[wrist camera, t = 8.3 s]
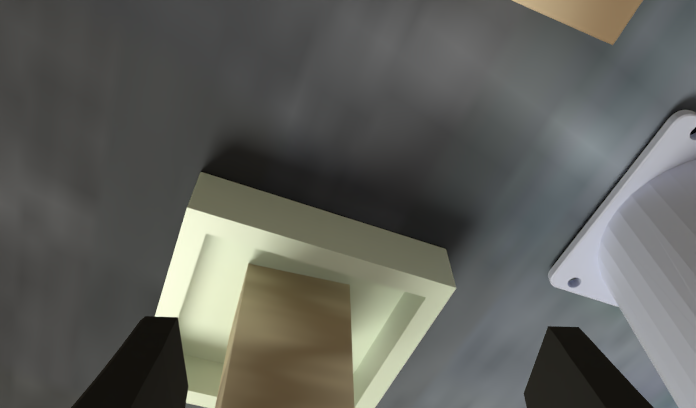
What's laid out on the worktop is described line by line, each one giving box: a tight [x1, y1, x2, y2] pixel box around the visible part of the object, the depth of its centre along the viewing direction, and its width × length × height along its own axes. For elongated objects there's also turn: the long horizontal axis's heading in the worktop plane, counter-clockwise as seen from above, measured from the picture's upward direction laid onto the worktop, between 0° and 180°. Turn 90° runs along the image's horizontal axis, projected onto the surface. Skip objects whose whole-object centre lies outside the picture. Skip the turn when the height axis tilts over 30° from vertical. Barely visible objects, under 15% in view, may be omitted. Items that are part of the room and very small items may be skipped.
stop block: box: [215, 263, 354, 408], centre depth 20 cm, size 4×4×7 cm
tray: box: [155, 172, 456, 408], centre depth 22 cm, size 10×10×2 cm
